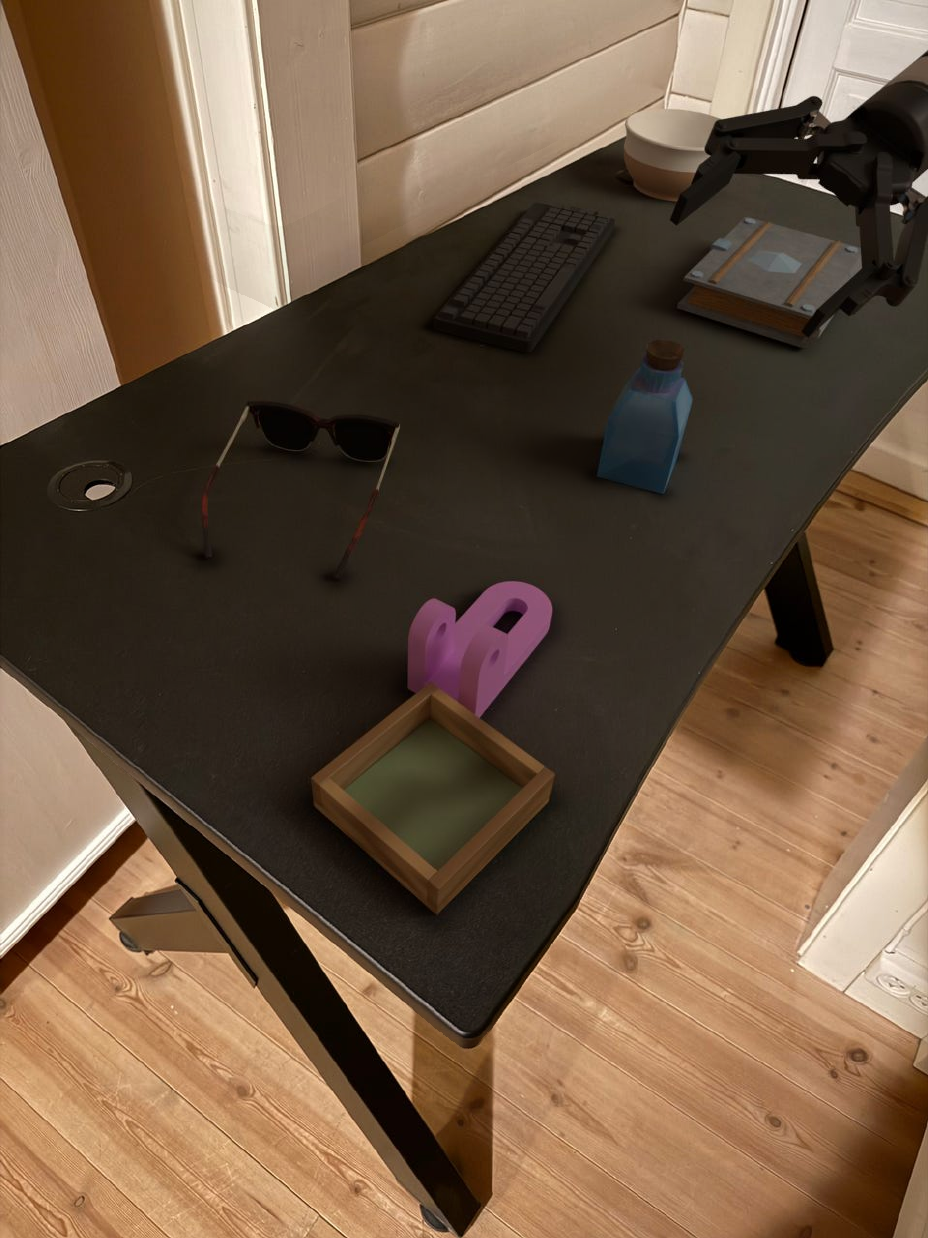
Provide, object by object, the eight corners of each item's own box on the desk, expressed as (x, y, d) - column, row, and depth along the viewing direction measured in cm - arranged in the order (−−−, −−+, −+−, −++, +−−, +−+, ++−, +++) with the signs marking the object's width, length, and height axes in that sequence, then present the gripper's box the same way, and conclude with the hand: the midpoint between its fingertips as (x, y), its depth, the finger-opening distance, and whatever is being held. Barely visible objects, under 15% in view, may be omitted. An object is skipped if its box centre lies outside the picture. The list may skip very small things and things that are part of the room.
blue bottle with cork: (663, 494, 81) (695, 375, 72) (596, 476, 82) (620, 358, 74) (677, 456, 85) (709, 340, 76) (613, 440, 86) (637, 324, 78)
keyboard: (533, 211, 122) (535, 196, 121) (614, 229, 120) (617, 213, 119) (432, 329, 99) (433, 312, 98) (530, 353, 97) (532, 336, 95)
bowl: (665, 157, 139) (676, 101, 133) (748, 193, 131) (764, 134, 125) (592, 179, 132) (601, 120, 126) (676, 218, 123) (690, 156, 118)
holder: (548, 801, 58) (555, 773, 56) (436, 915, 52) (438, 889, 50) (429, 710, 63) (430, 681, 60) (313, 806, 57) (310, 777, 55)
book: (811, 354, 100) (827, 312, 96) (672, 310, 105) (682, 268, 101) (859, 283, 113) (875, 244, 109) (733, 247, 118) (744, 208, 114)
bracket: (474, 724, 62) (480, 657, 57) (407, 688, 64) (408, 620, 59) (562, 613, 70) (575, 546, 65) (501, 584, 72) (508, 516, 67)
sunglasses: (401, 463, 82) (400, 419, 78) (357, 593, 72) (354, 548, 68) (254, 442, 83) (246, 396, 79) (190, 566, 73) (178, 520, 69)
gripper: (996, 254, 76) (846, 400, 70) (772, 77, 80) (613, 200, 74) (1060, 186, 69) (899, 342, 63) (810, -5, 73) (637, 124, 67)
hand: (744, 266), depth 68 cm, fingers open, 13 cm apart
